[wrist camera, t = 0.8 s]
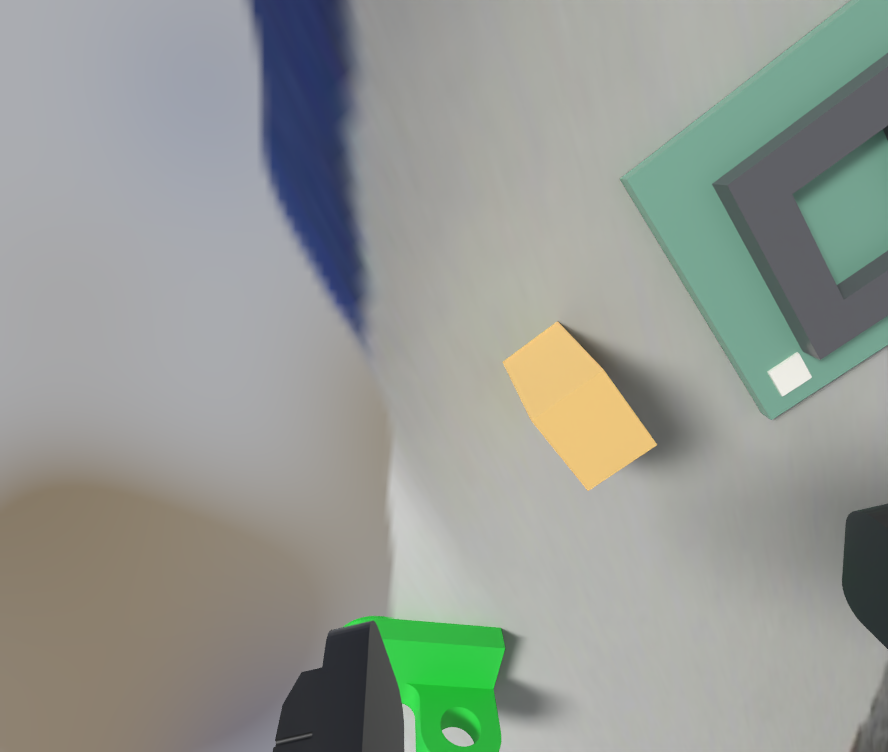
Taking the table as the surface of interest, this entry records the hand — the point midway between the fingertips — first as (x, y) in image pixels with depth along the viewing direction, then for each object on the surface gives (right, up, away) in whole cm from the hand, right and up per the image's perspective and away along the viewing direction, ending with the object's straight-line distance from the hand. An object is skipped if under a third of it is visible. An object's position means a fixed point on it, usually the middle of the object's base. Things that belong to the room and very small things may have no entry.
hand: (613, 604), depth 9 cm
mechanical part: (-5, -16, +32) cm, 36 cm away
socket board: (+19, +13, +22) cm, 32 cm away
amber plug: (+4, +4, +24) cm, 25 cm away
